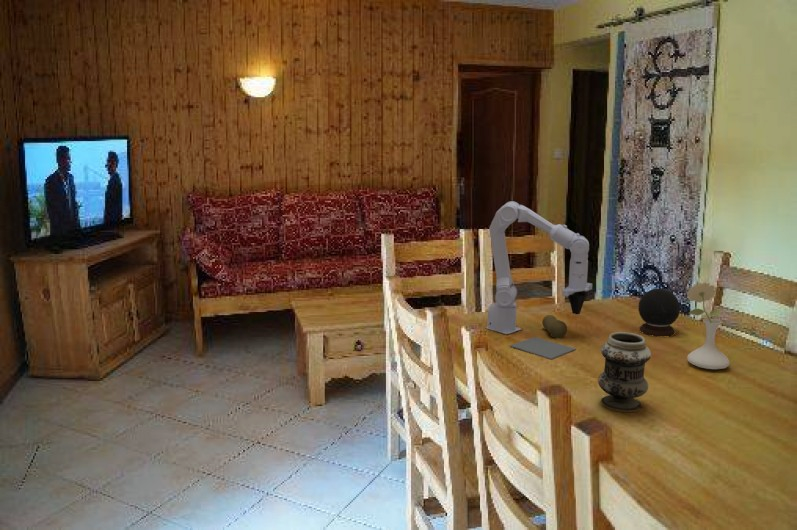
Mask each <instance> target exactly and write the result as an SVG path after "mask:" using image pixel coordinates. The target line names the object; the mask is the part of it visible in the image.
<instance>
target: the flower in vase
mask: <svg viewBox="0 0 797 530" xmlns="http://www.w3.org/2000/svg"><path fill="white" fill-rule="evenodd" d="M686 295H687V299H688V300H689V301H691V302H694V303H702V305H703V309H701V308H694V309H691V310H690V311H689V312H688V314H689V315H695V316H701V315H703V313H704V314H705V316H707V317H706V318H703V319H702V321H703V323H704V325H705V329H706V331H705V332H706V336H705V343H704V344H703V345H702V346H700V347H698V348H696V349H694V350H692V351H691V352H689V353H688V355H687V356H686V359H687V360H688V362H689V363H690V364H692V365H693V366H696V367H698V368H702V369H706V370H721V369H723V370H724V369H726V368H728V367H729V365H730V364H731V363H730V360H729V358H728V356H727V355H725V354H724V353H723V352H722V351H721V350H720V349H719V348H717V346H716V344H715V339H716V332H717V329H718V328H719V326H721V324H722V322H723V321H722V320H720V319H718V318H712V317H717V316H719V315H721V313H722V311H723V308H720V309H716V310H712V311H710V313H709V314H708V312H707V311H706V308H705V302H706V301H710V300H711V299H712V298H714V296H716V288H715V285H713V284H711V283H710V282H705V281H704V282H698V283H697V284H694V285H692V286H691V287H690V288H689V290H688V291H687V292H686Z"/></svg>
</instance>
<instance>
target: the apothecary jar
mask: <svg viewBox="0 0 797 530" xmlns="http://www.w3.org/2000/svg"><path fill="white" fill-rule="evenodd" d="M600 352H601V355H602V356H603V357H604V358H605V359H604V360H605V361H604V368H603V372H601V373H600V375H599V376H598V378H597V383H598V386H599V388H600V389H601V390H602V391H603V392H605V393H606V394H608V395H605V396H603V397H602V398H601V400H600V403H601V404H602V406H603V407H605V408H606V409H609V410H611V411H614V412H615V411H616V412H619V413H634V412H639V411H640V409H641V408H643V405H642V403H641V402H640V401H639V400H638V399H636V398H639V397H641V396H643V395H645V394H646V393H647V391H648V390H649V383H648V380H647V379H646V378H645V365H646V363H647V362H648V361H650V359H651V356H652V352H651V350H650V348H649V347H648V346H647V345H646V339H645V337H643V336H642V335H641V334H637V333H635V332H633V333H632V332H625V331H617V332H613V333H610V334H609V335H608V340H607V341H605V342H604V343H603V344H602V345H601V348H600Z"/></svg>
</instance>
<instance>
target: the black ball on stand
mask: <svg viewBox="0 0 797 530" xmlns="http://www.w3.org/2000/svg"><path fill="white" fill-rule="evenodd" d="M637 308H638V312H639V315H640V318H641V319H642V320H643V321H644V323H643V324H641V326H640V327H639V331H641V332H640V333H642V332H643V333H642V334H644V335H647V334H648V336H650V335H653V336H652V337H657V336H669V337H671V336H670V335H673V334H674V333H675V332H676V330H675V329H674V327H673V326H671V325H672V324H674V323H675V322H676V320H677V319H678V318H679V315H680V312H681V305H680V301H679V300H678V298H677V296H676V295H675V294H674V293H673V292H671V291H670V290H668V289H664V288H653V289H650V290H648V291H646V292H645V293H644V294H643V295H642V296H641V297H640V299H639V301H638V306H637ZM674 335H675V334H674ZM674 335H673V336H674Z"/></svg>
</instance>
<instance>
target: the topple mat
mask: <svg viewBox="0 0 797 530" xmlns="http://www.w3.org/2000/svg"><path fill="white" fill-rule="evenodd" d="M512 347H513V348H512ZM509 348H512V349H516V350H518V351H522V352H525V353H528V354H533V355H534V354H535V356H538V357H542V358H544V359H548V360H554V359H556V358H559V357H562V356H563V355H566V354H569V353H572V352H575V351H576V350H577V348H574V347H571V346H567V345H564V344H562V343H561V344H560V343H557V342H554V341H550V340H547V339H543V338H540V337H536V336H532V337H529V338H527V339H525V340H520V341H518V342H516V343H513V344H511V345H509Z"/></svg>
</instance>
